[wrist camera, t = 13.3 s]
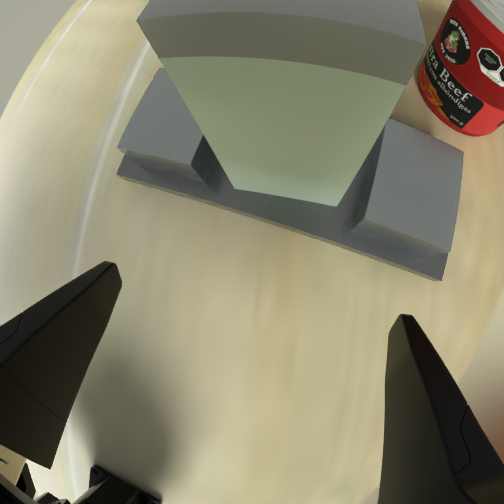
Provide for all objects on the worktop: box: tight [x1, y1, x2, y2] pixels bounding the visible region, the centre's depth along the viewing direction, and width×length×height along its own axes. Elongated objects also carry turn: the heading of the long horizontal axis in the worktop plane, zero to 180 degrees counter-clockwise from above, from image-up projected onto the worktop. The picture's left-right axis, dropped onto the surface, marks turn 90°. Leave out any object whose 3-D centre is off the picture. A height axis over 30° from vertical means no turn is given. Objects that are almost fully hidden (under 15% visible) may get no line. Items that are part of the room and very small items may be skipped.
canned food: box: [418, 0, 504, 136], centre depth 12 cm, size 8×8×11 cm
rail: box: [116, 68, 464, 281], centre depth 16 cm, size 8×22×4 cm, turn 71°
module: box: [136, 0, 427, 207], centre depth 11 cm, size 5×6×13 cm
